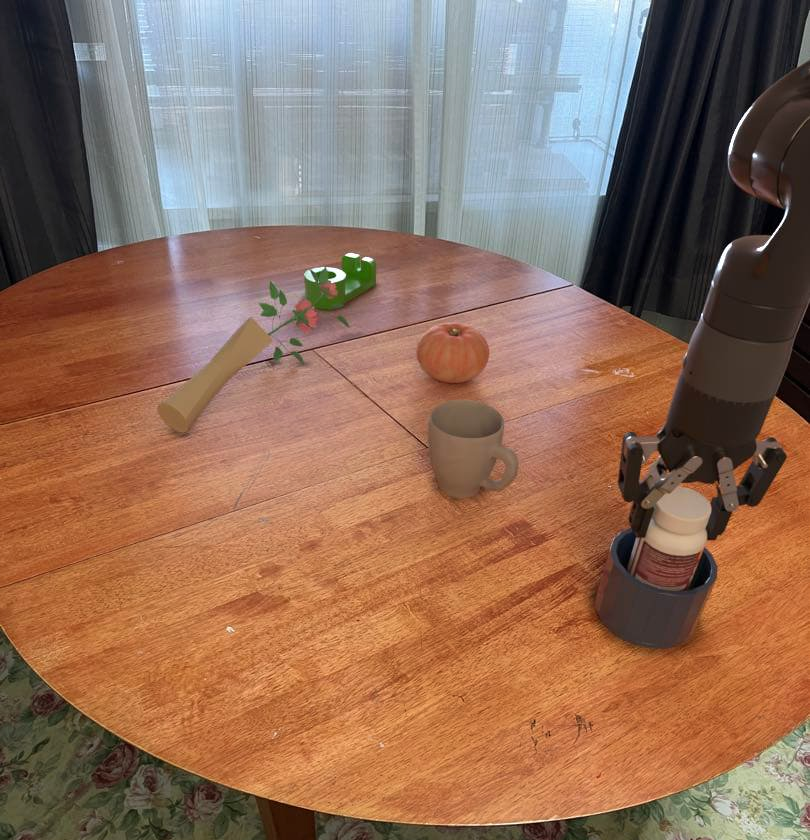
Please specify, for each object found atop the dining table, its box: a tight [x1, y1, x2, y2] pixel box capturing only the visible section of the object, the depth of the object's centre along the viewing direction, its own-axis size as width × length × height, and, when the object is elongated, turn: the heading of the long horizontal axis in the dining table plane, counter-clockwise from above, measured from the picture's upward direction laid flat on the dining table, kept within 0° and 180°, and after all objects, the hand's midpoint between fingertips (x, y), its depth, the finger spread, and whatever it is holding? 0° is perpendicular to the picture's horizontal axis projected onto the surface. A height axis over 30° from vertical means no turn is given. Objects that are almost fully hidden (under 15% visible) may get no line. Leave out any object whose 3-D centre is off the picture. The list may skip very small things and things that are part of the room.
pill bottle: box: [626, 485, 712, 591], centre depth 74 cm, size 6×6×11 cm
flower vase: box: [156, 265, 351, 434], centre depth 110 cm, size 12×12×35 cm
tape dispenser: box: [304, 252, 377, 310], centre depth 136 cm, size 15×7×5 cm, turn 149°
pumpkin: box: [416, 322, 490, 384], centre depth 113 cm, size 11×11×8 cm
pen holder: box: [594, 527, 719, 650], centre depth 77 cm, size 10×10×8 cm
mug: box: [427, 399, 519, 499], centre depth 91 cm, size 12×9×10 cm
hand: (673, 533), depth 72 cm, fingers closed on pill bottle, 6 cm apart
